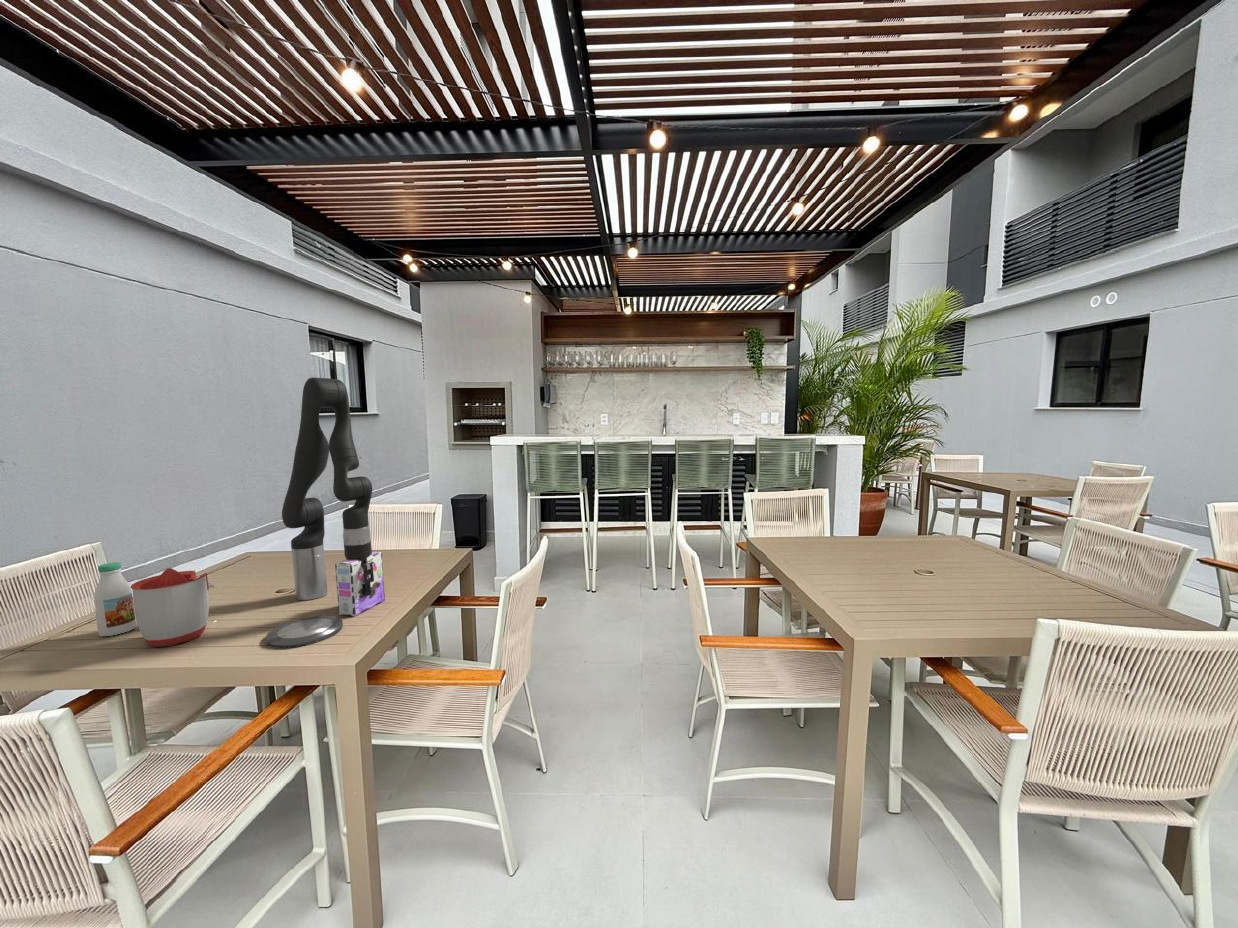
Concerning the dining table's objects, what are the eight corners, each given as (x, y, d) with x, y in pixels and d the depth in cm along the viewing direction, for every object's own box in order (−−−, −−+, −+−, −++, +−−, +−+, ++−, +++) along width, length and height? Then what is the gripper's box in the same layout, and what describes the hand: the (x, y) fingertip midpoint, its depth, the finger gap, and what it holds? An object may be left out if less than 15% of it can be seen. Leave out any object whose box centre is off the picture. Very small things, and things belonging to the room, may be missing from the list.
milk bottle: (93, 640, 139) (84, 569, 137) (105, 630, 146) (97, 562, 144) (130, 633, 143) (121, 565, 141) (140, 624, 150) (132, 558, 148)
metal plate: (258, 635, 139) (257, 630, 139) (329, 615, 152) (328, 610, 152) (278, 654, 127) (277, 648, 127) (353, 630, 141) (352, 625, 140)
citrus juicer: (232, 629, 144) (225, 561, 142) (156, 655, 128) (147, 579, 127) (201, 621, 151) (193, 556, 149) (125, 646, 135) (116, 573, 133)
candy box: (354, 617, 150) (350, 563, 149) (338, 615, 152) (333, 562, 150) (386, 600, 164) (382, 551, 162) (370, 599, 165) (366, 550, 164)
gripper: (335, 540, 158) (339, 591, 159) (354, 547, 148) (358, 600, 150) (360, 535, 163) (364, 584, 165) (379, 541, 154) (383, 593, 156)
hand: (361, 592), depth 157 cm, fingers closed on candy box, 7 cm apart
